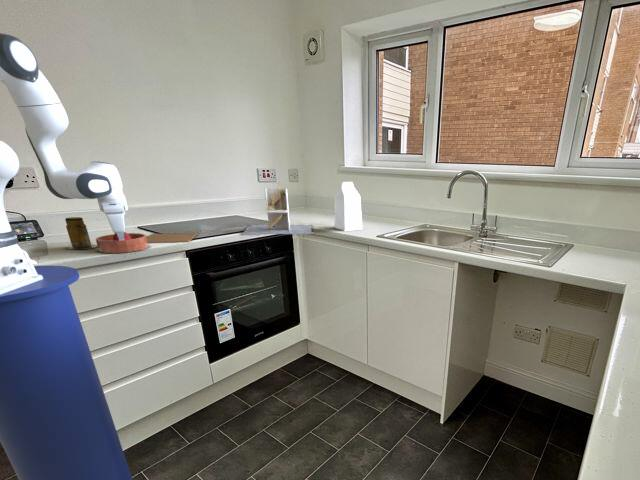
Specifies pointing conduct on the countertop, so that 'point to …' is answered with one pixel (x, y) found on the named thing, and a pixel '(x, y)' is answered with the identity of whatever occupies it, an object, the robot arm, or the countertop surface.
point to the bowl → (122, 243)
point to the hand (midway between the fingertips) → (122, 240)
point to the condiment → (78, 233)
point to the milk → (348, 208)
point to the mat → (170, 237)
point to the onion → (126, 237)
